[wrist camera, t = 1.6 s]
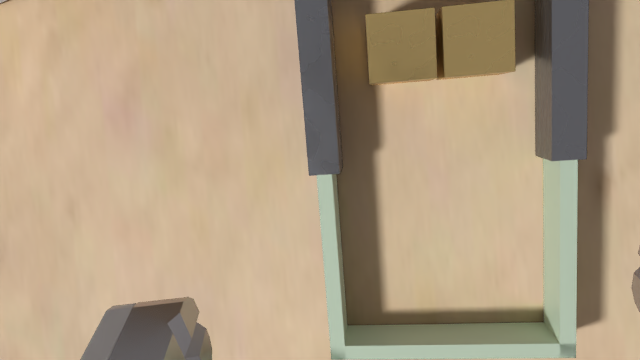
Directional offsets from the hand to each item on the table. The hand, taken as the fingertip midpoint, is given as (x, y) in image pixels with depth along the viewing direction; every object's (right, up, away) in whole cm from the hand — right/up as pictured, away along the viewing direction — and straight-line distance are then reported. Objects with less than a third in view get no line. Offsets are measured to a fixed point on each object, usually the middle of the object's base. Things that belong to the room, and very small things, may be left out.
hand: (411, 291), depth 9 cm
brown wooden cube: (+4, +11, +23) cm, 26 cm away
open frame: (+7, -3, +25) cm, 26 cm away
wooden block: (+8, +11, +22) cm, 26 cm away
